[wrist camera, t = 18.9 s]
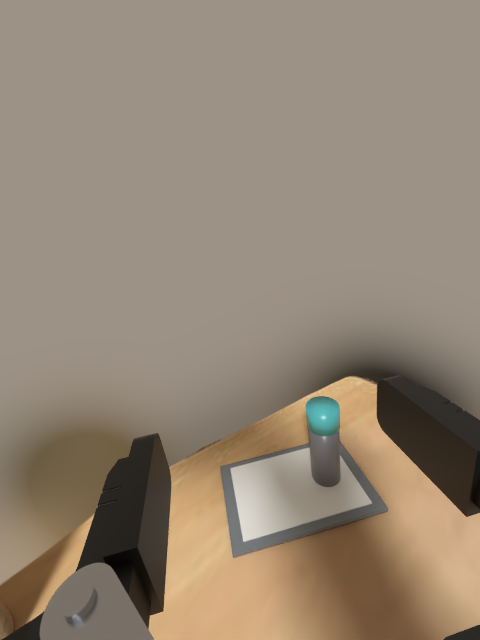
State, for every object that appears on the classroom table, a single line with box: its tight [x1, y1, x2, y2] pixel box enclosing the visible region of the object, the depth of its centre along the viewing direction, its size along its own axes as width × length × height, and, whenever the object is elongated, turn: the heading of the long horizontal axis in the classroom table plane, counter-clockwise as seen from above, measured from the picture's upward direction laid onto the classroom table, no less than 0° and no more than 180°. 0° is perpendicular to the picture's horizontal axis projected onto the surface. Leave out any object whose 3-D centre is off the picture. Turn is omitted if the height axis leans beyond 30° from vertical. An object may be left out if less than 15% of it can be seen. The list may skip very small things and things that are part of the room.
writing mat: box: [221, 442, 388, 558], centre depth 40 cm, size 20×13×1 cm, turn 100°
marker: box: [306, 396, 341, 487], centre depth 39 cm, size 4×4×12 cm
